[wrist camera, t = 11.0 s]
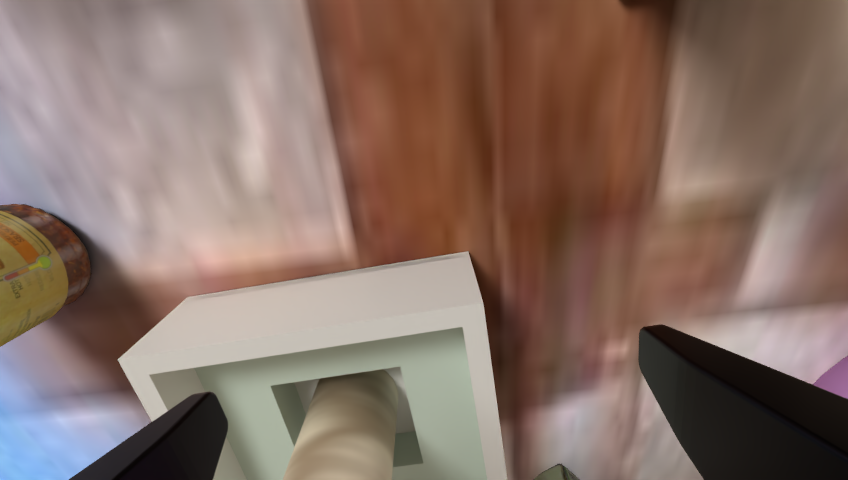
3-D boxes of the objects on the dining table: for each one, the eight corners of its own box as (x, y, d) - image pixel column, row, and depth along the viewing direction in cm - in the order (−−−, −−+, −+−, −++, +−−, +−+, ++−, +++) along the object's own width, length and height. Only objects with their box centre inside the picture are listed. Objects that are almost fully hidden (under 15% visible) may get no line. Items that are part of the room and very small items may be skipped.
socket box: (468, 251, 21) (483, 302, 16) (498, 462, 27) (517, 550, 22) (187, 297, 22) (117, 359, 17) (274, 492, 28) (241, 583, 23)
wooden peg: (388, 354, 23) (365, 532, 14) (406, 419, 25) (396, 618, 15) (305, 368, 23) (227, 552, 14) (329, 431, 25) (273, 634, 16)
